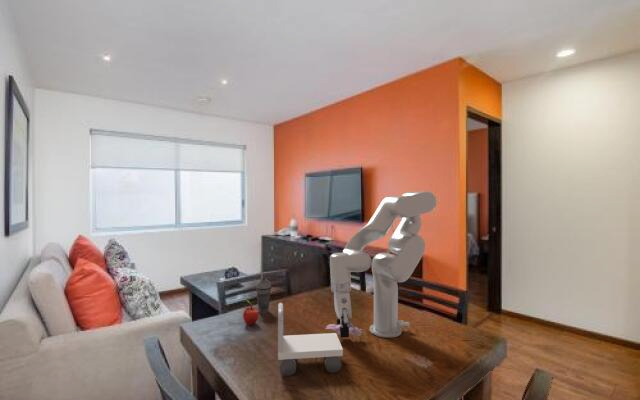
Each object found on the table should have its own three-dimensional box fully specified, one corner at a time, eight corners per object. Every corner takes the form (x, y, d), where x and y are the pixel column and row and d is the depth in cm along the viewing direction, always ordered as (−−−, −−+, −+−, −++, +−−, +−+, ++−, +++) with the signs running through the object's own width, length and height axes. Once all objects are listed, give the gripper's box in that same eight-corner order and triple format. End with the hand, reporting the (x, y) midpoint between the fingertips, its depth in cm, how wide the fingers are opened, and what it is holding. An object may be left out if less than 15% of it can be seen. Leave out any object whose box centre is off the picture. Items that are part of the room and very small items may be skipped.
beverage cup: (268, 315, 145) (268, 271, 145) (253, 313, 146) (253, 270, 146) (273, 309, 152) (273, 268, 152) (259, 308, 154) (259, 267, 153)
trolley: (335, 352, 110) (336, 300, 110) (343, 372, 98) (343, 313, 98) (278, 356, 108) (278, 302, 108) (277, 376, 95) (278, 316, 95)
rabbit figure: (363, 335, 123) (325, 328, 124) (365, 320, 122) (327, 313, 124) (364, 342, 116) (324, 336, 118) (366, 327, 116) (325, 320, 118)
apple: (261, 321, 138) (261, 298, 138) (256, 327, 131) (256, 303, 131) (243, 320, 139) (243, 297, 138) (238, 327, 132) (238, 303, 132)
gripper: (356, 292, 111) (358, 342, 112) (345, 279, 128) (347, 322, 129) (335, 294, 110) (337, 345, 111) (327, 280, 127) (329, 324, 128)
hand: (343, 332), depth 120 cm, fingers closed on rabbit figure, 5 cm apart
